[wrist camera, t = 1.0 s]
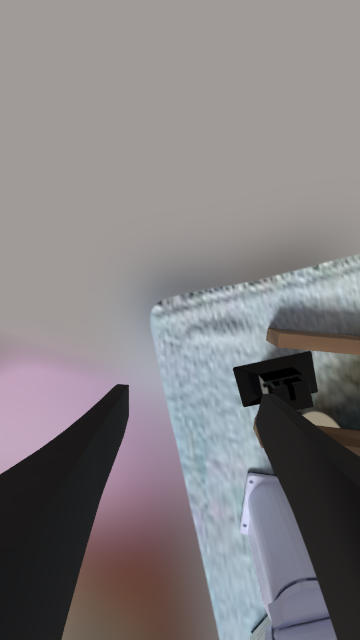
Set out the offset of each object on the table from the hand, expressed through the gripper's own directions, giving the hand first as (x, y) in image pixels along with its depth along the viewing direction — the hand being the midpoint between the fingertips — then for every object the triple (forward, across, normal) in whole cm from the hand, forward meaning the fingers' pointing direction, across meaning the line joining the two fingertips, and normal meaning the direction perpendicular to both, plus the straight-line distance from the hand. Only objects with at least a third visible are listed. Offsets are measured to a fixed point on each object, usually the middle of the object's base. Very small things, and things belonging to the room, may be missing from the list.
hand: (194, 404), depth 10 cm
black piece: (+12, -12, +6) cm, 18 cm away
